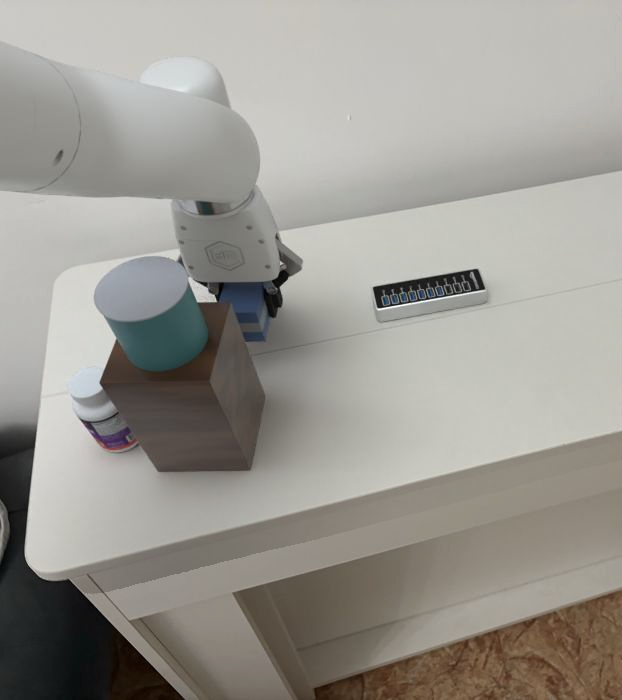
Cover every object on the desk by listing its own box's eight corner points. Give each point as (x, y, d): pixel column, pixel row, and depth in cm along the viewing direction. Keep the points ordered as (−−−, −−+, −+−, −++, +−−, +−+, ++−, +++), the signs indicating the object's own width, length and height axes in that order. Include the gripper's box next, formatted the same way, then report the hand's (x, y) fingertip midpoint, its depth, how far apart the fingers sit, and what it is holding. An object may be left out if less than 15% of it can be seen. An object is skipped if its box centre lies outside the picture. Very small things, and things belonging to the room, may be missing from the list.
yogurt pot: (200, 372, 65) (175, 320, 59) (113, 373, 65) (80, 321, 59) (218, 309, 70) (196, 255, 64) (137, 310, 70) (109, 256, 64)
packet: (265, 342, 82) (256, 312, 79) (226, 342, 82) (215, 312, 79) (279, 281, 89) (270, 251, 85) (242, 282, 89) (233, 252, 85)
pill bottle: (95, 423, 80) (57, 371, 73) (144, 407, 82) (111, 354, 74) (101, 461, 77) (62, 410, 70) (152, 443, 79) (119, 392, 71)
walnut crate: (250, 470, 77) (209, 381, 64) (157, 471, 76) (98, 383, 64) (265, 395, 83) (230, 301, 71) (179, 396, 83) (130, 302, 70)
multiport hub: (372, 298, 93) (370, 286, 91) (478, 279, 95) (479, 267, 93) (377, 322, 90) (376, 310, 88) (487, 302, 93) (487, 290, 91)
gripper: (117, 209, 69) (175, 333, 83) (291, 207, 69) (320, 332, 83) (139, 163, 74) (190, 288, 88) (301, 162, 74) (327, 287, 88)
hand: (253, 308), depth 85 cm, fingers closed on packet, 4 cm apart
